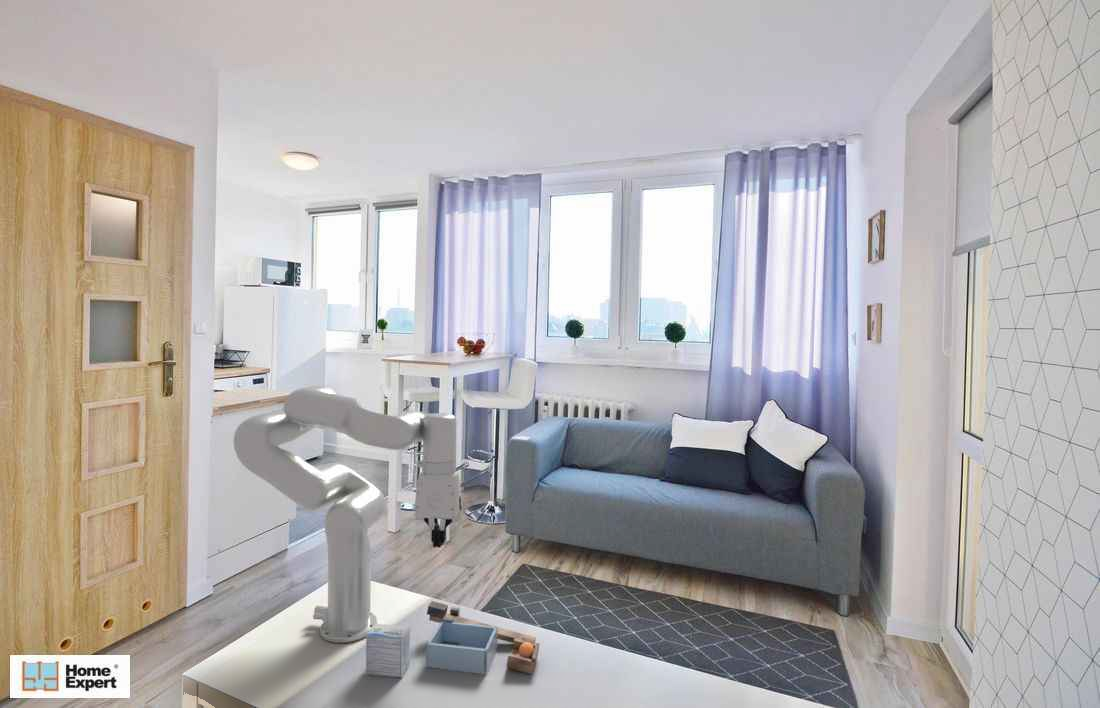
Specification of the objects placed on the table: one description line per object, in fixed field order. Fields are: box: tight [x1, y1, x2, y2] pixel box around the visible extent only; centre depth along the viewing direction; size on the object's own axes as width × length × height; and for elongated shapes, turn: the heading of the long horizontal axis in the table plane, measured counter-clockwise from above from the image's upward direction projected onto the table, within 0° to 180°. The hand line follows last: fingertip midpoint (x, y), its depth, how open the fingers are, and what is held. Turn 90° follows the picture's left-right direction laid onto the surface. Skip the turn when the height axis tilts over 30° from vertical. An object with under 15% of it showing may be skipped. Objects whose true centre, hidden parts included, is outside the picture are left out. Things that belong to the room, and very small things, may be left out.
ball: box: [519, 642, 534, 659], centre depth 113 cm, size 3×3×3 cm
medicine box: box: [365, 623, 411, 679], centre depth 110 cm, size 8×4×9 cm, turn 84°
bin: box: [425, 621, 499, 675], centre depth 115 cm, size 13×9×5 cm
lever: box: [426, 600, 540, 675], centre depth 117 cm, size 27×11×3 cm, turn 82°
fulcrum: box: [442, 606, 461, 645], centre depth 122 cm, size 6×7×6 cm
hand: (438, 545), depth 122 cm, fingers closed
